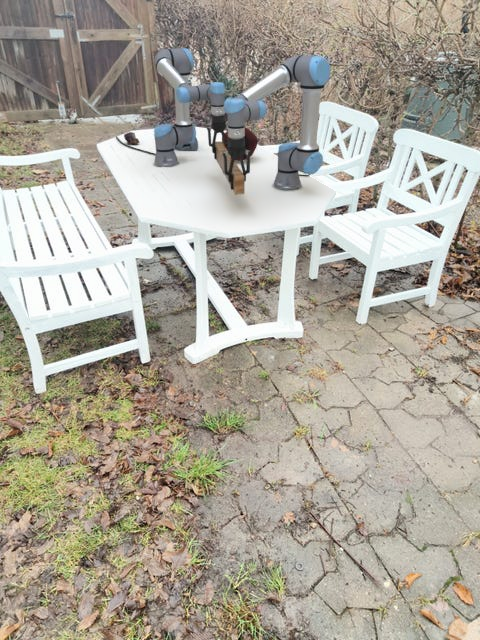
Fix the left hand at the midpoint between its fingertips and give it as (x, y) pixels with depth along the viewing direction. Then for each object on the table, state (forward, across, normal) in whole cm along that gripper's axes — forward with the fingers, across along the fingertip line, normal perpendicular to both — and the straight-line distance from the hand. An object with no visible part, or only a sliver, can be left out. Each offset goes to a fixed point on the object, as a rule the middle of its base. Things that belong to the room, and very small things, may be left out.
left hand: (219, 158), depth 258 cm
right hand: (0, +1, -52) cm, 53 cm away
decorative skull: (+13, +19, +42) cm, 48 cm away
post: (+1, 0, -26) cm, 26 cm away
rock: (+13, -52, +101) cm, 115 cm away
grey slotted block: (+13, -14, +79) cm, 81 cm away
